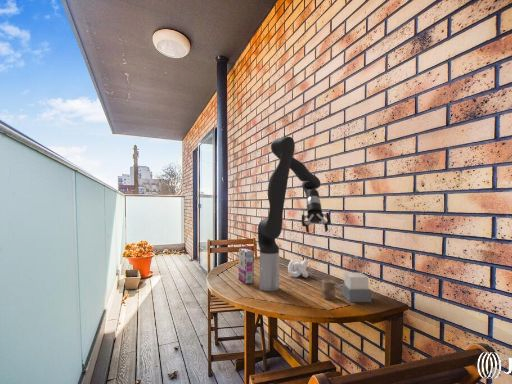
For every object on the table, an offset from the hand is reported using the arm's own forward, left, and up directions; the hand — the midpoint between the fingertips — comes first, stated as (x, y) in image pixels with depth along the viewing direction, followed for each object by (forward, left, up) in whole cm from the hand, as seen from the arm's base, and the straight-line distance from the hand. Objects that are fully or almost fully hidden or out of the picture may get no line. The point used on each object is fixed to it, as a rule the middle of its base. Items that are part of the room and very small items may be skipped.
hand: (317, 231), depth 123 cm
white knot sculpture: (-7, +20, -27) cm, 35 cm away
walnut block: (+1, -14, -27) cm, 30 cm away
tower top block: (+13, -14, -22) cm, 29 cm away
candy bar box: (-36, +10, -27) cm, 46 cm away
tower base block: (+13, -14, -27) cm, 33 cm away
